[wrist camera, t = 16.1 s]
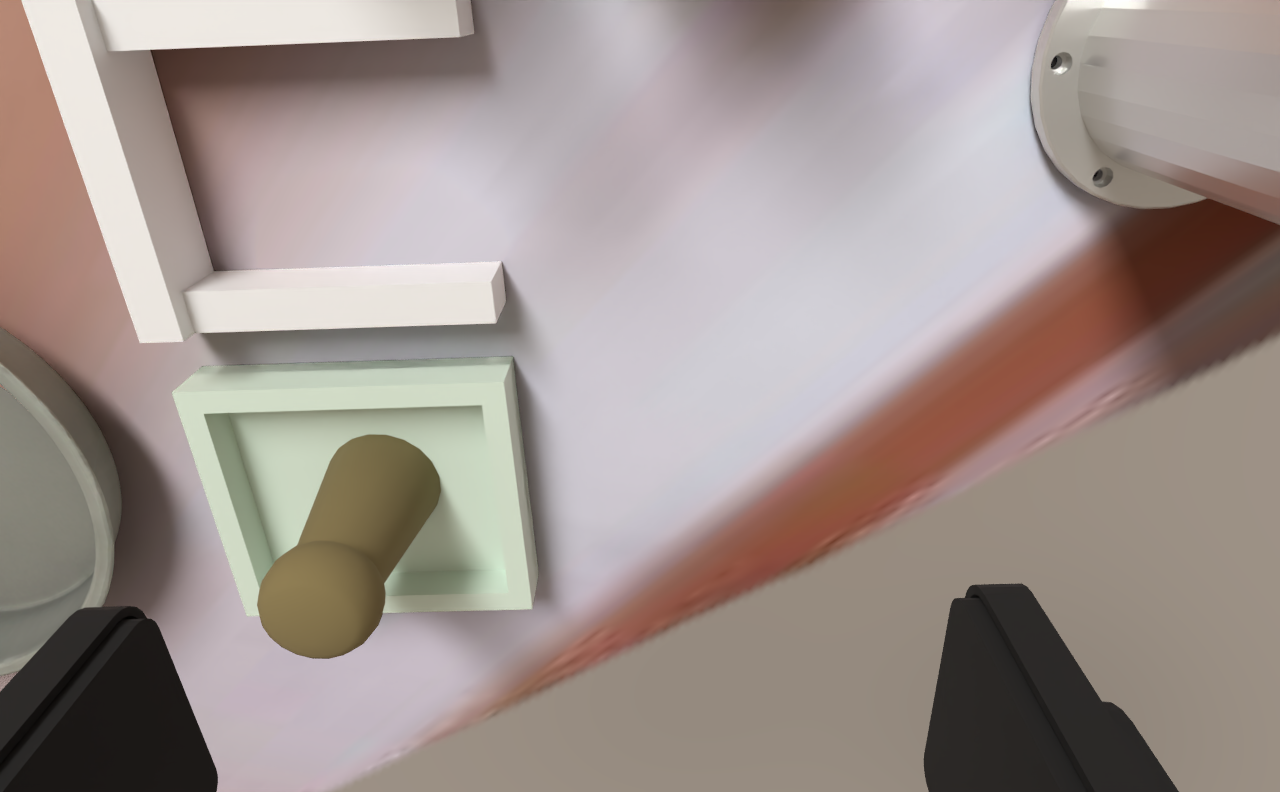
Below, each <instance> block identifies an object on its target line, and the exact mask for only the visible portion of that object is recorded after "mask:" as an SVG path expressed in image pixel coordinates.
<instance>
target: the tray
mask: <svg viewBox="0 0 1280 792" xmlns="http://www.w3.org/2000/svg"><path fill="white" fill-rule="evenodd" d="M172 395H173V398H174V401H175V404H176V407H177V410H178V413H179V416H180V419H181V422H182V425H183V428H184V431H185V434H186V437H187V440H188V443H189V446H190V449H191V452H192V454H193V457H194V460H195V463H196V466H197V469H198V472H199V475H200V478H201V481H202V484H203V487H204V490H205V493H206V496H207V499H208V502H209V505H210V508H211V511H212V514H213V517H214V520H215V523H216V526H217V529H218V532H219V535H220V538H221V541H222V544H223V547H224V550H225V553H226V556H227V558H228V561H229V564H230V567H231V570H232V573H233V576H234V579H235V582H236V585H237V588H238V591H239V594H240V597H241V600H242V603H243V606H244V609H245V612H246V615H247V616H260V615H259V611H258V607H257V601H258V595H259V589H260V586H261V582H262V580H263V579H264V577H265V576H266V574H267V573H268V571H269V570H270V568H271V567H272V565H273V564H274V562H275V561H276V560H277V559H278V558H279V557H281V556H282V555H283V554H285V553H286V552H288V551H289V550H291V549H292V548H294V547H295V546H297V544H298V542H299V539H300V536H301V534H302V531H303V529H304V526H305V524H306V521H307V519H308V516H309V514H310V511H311V508H312V506H313V503H314V501H315V498H316V496H317V493H318V491H319V488H320V486H321V483H322V480H323V478H324V475H325V473H326V470H327V468H328V465H329V463H330V460H331V459H332V457H333V456H334V454H335V453H336V451H337V450H338V448H339V447H341V446H342V445H344V444H345V443H347V442H348V441H349V440H351V439H353V438H357V437H361V436H364V435H368V434H376V435H389V436H393V437H396V438H400V439H403V440H405V441H407V442H409V443H410V444H412V445H414V446H416V447H417V448H419V449H420V450H421V451H422V452H423V453H424V454H425V455H426V456H427V457H428V458H429V459H430V460H431V461H432V463H433V465H434V467H435V469H436V471H437V473H438V475H439V478H440V486H441V493H440V497H439V500H438V504H437V506H436V507H435V509H434V510H433V512H432V513H431V515H430V516H429V518H428V519H427V521H426V522H425V524H424V525H423V527H422V528H421V530H420V531H419V533H418V534H417V536H416V537H415V539H414V540H413V542H412V543H411V545H410V546H409V548H408V549H407V550H406V552H405V553H404V555H403V556H402V558H401V559H400V561H399V562H398V564H397V565H396V567H395V568H394V570H393V571H392V573H391V574H390V576H389V577H388V579H387V580H386V582H385V583H384V585H385V591H386V598H385V605H384V609H383V613H402V612H442V611H482V610H522V609H533V603H534V598H535V592H536V587H537V581H538V576H539V571H538V563H537V555H536V546H535V538H534V529H533V521H532V513H531V504H530V496H529V487H528V479H527V470H526V462H525V454H524V445H523V437H522V428H521V420H520V412H519V403H518V395H517V386H516V378H515V369H514V361H513V356H508V357H477V358H445V359H414V360H383V361H351V362H320V363H289V364H257V365H226V366H202V367H201V368H200V369H199V370H197V371H196V372H195V373H194V374H193V375H192V376H190V377H189V378H188V379H187V380H186V381H184V382H183V383H182V384H181V385H180V386H179V387H177V388H176V389H175V390H174V391H173V392H172Z"/></svg>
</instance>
